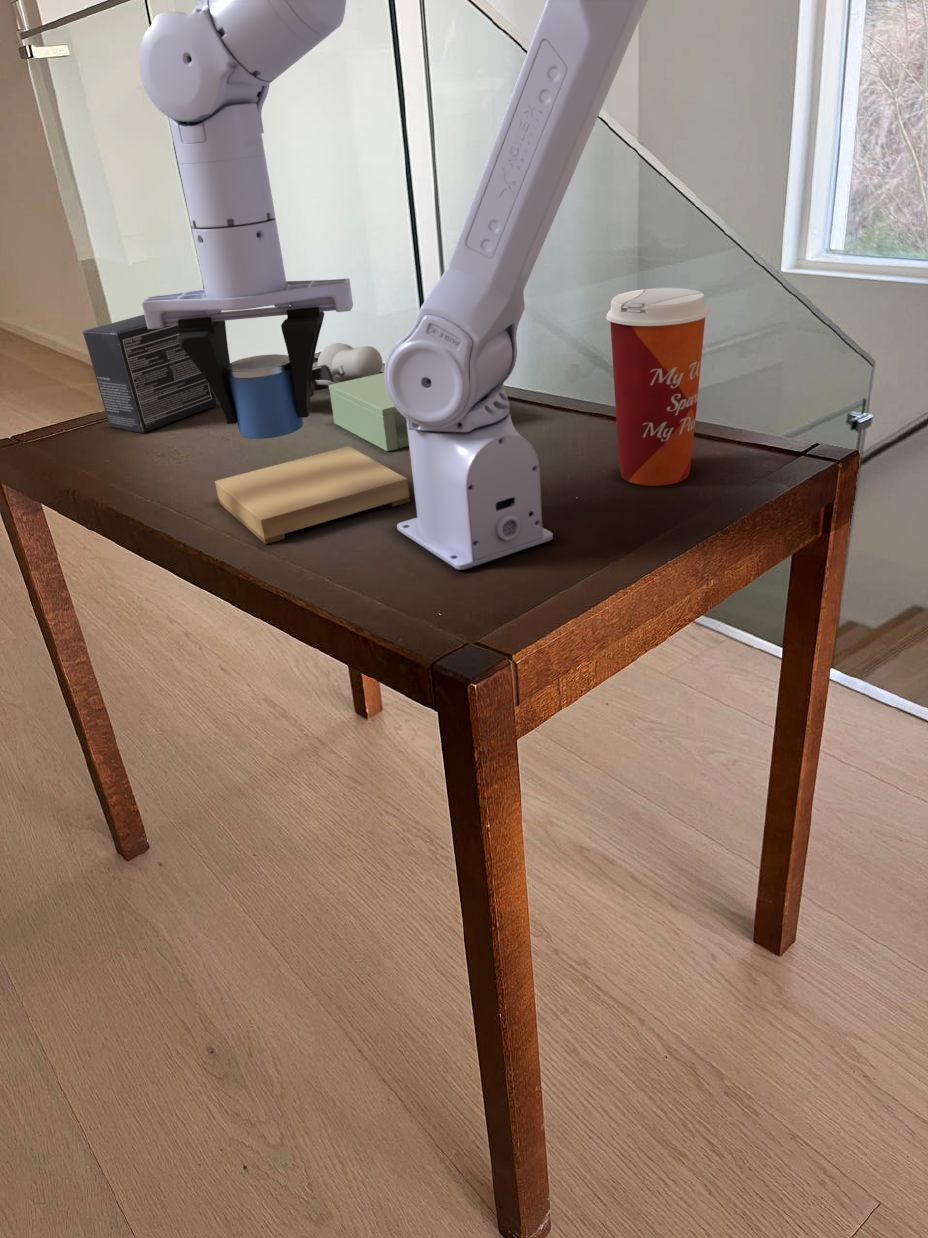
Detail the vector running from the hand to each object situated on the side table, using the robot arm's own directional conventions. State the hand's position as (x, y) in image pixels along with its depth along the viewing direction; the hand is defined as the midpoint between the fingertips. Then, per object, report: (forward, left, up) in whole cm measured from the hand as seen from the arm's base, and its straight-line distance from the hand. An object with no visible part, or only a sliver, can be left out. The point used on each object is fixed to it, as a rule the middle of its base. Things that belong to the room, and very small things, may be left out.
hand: (270, 416), depth 71 cm
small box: (+38, 0, -8) cm, 39 cm away
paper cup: (-12, -27, -8) cm, 31 cm away
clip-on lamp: (+33, -16, -8) cm, 38 cm away
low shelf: (+2, -3, -8) cm, 9 cm away
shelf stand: (+15, -19, -8) cm, 26 cm away
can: (0, 0, -1) cm, 1 cm away
